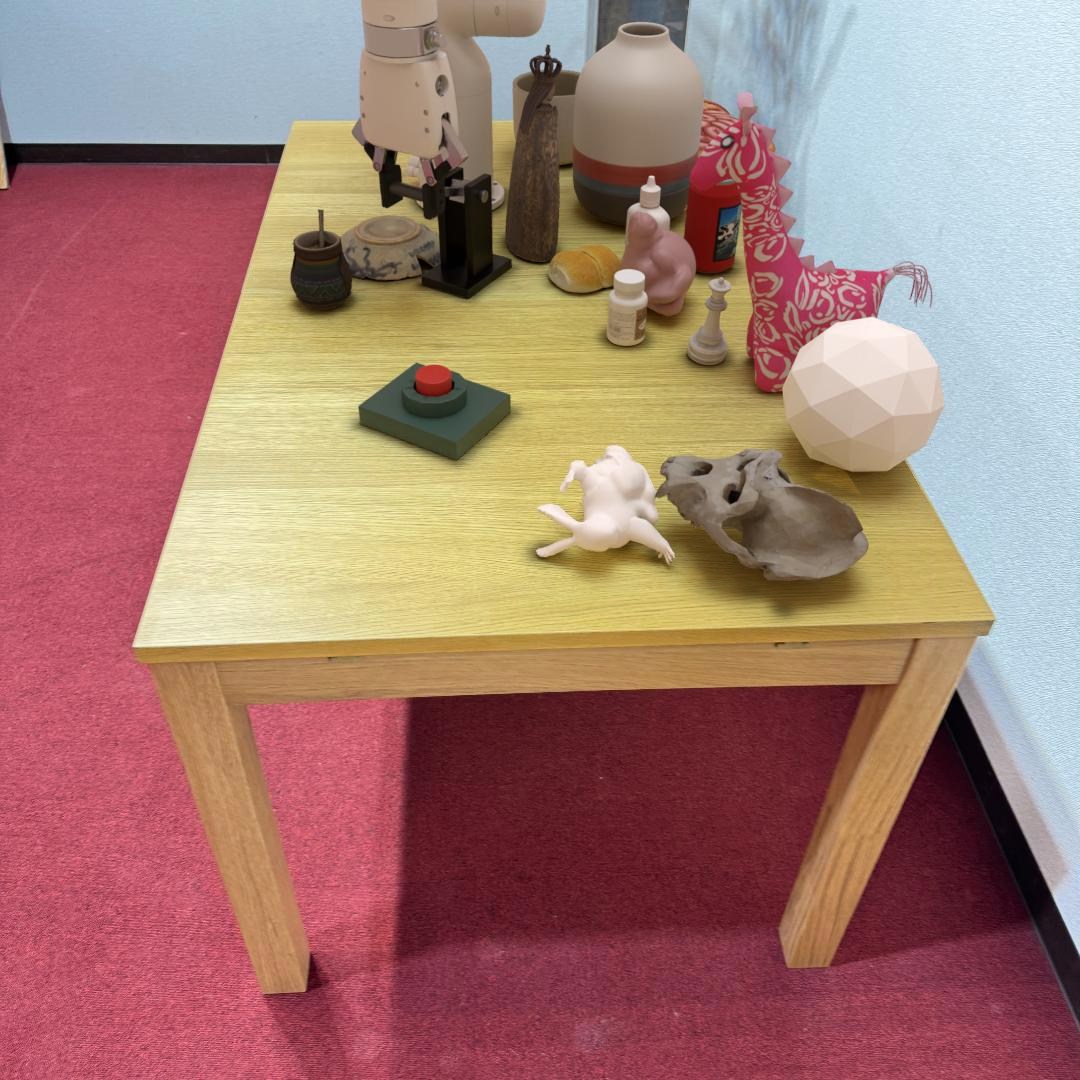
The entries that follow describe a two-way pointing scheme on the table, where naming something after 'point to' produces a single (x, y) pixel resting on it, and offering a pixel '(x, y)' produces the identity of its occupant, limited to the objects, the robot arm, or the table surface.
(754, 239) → the toy
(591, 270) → the bread roll
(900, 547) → the table surface
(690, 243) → the beverage can
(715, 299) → the chess piece
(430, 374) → the button
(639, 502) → the rabbit figurine
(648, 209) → the eye dropper bottle
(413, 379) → the block
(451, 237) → the lever bracket
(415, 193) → the lever
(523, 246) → the statue
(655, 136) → the vase
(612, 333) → the pill bottle
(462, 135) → the robot arm
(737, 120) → the anatomical model
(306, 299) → the mate gourd
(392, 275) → the decorative bowl
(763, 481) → the skull
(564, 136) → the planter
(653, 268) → the figurine
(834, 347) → the geometric shape
